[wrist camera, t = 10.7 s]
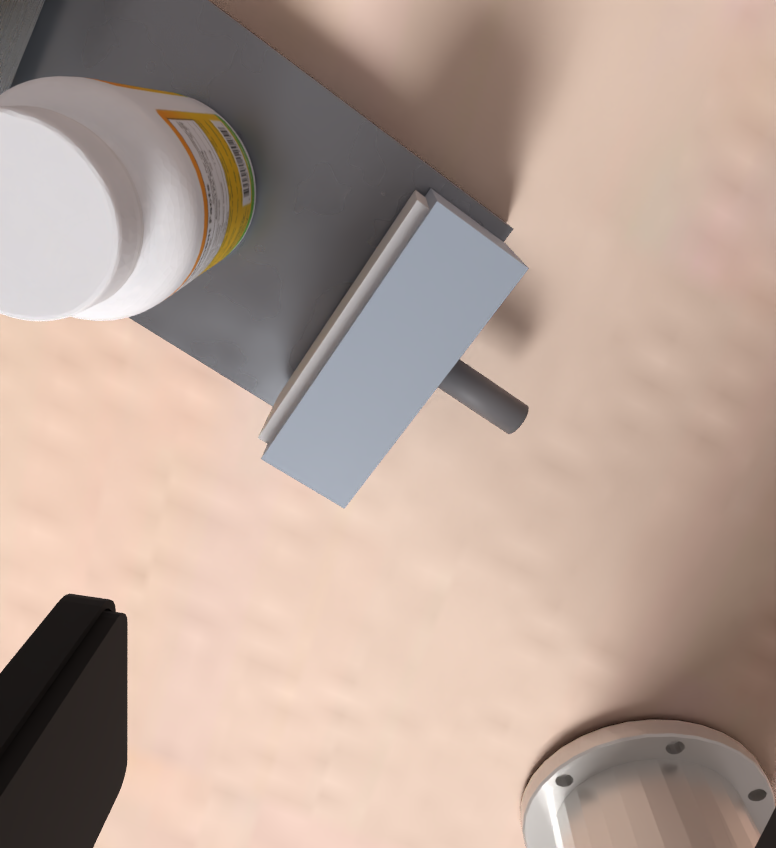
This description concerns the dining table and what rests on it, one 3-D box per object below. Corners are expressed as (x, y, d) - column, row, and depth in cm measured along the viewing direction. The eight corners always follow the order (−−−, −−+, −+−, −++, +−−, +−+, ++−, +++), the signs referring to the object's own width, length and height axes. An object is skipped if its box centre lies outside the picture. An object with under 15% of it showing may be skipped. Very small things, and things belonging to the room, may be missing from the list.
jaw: (597, 311, 23) (641, 351, 18) (440, 500, 26) (447, 570, 21) (420, 180, 21) (424, 191, 17) (276, 397, 24) (249, 452, 20)
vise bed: (506, 223, 23) (539, 251, 18) (350, 436, 27) (336, 515, 21) (23, -140, 19) (-128, -248, 14) (-87, 163, 23) (-243, 172, 17)
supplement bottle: (68, 212, 22) (-163, 267, 13) (132, 54, 20) (-88, -9, 11) (215, 298, 23) (94, 403, 14) (289, 156, 21) (202, 172, 12)
